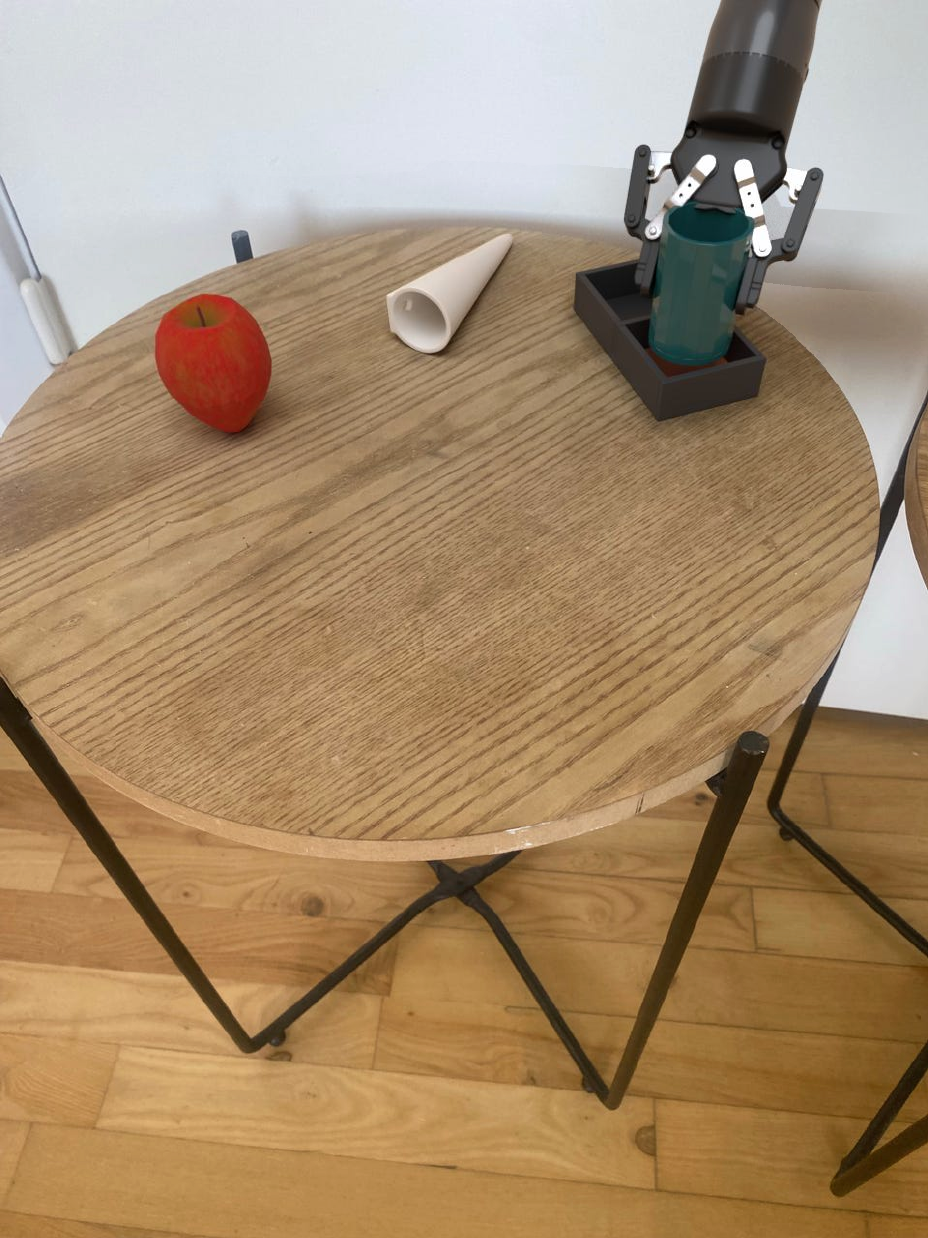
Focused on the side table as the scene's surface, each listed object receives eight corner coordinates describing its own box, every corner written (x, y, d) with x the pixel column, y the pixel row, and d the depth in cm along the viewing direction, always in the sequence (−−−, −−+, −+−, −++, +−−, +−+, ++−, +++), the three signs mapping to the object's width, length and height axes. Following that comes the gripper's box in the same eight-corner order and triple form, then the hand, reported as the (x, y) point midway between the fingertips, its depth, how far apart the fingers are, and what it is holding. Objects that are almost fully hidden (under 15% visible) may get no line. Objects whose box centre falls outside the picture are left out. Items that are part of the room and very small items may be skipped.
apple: (188, 393, 79) (151, 274, 71) (290, 389, 79) (264, 269, 71) (171, 461, 74) (128, 341, 66) (280, 457, 74) (250, 335, 66)
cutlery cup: (730, 322, 77) (754, 202, 70) (728, 369, 73) (754, 247, 66) (651, 315, 78) (666, 196, 71) (644, 362, 74) (660, 241, 67)
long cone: (561, 274, 92) (452, 359, 81) (504, 264, 95) (391, 345, 83) (561, 214, 88) (447, 293, 77) (502, 205, 91) (383, 281, 80)
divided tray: (757, 396, 76) (767, 357, 74) (658, 421, 75) (663, 383, 72) (662, 288, 87) (667, 251, 84) (573, 309, 85) (575, 272, 83)
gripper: (650, 36, 68) (591, 274, 70) (860, 58, 64) (792, 308, 66) (659, 86, 75) (606, 300, 77) (849, 108, 71) (787, 332, 73)
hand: (692, 303), depth 72 cm, fingers closed on cutlery cup, 6 cm apart
